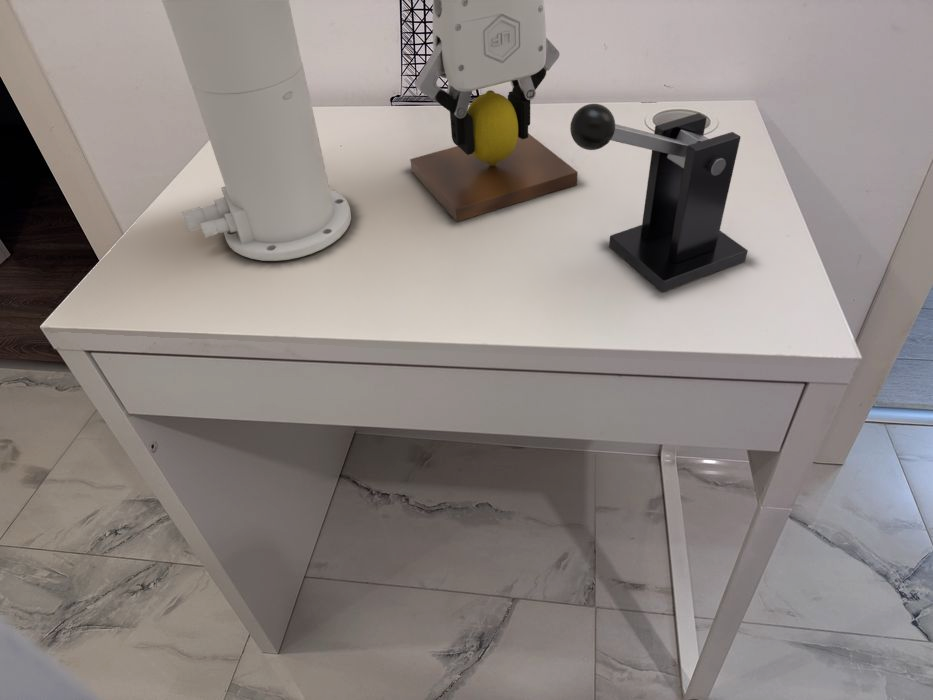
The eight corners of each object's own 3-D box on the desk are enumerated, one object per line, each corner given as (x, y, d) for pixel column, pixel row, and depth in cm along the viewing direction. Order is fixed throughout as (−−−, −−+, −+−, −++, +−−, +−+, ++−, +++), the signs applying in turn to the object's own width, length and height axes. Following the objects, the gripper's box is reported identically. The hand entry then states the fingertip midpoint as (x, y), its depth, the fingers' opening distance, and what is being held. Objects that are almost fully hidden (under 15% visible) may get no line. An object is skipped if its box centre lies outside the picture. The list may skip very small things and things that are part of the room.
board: (456, 222, 69) (455, 209, 68) (411, 171, 77) (409, 158, 76) (577, 184, 73) (577, 171, 71) (522, 140, 81) (521, 128, 80)
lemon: (519, 176, 71) (519, 101, 66) (466, 178, 72) (461, 104, 66) (517, 151, 76) (517, 78, 70) (467, 153, 76) (462, 81, 70)
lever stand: (662, 292, 59) (683, 166, 51) (608, 246, 64) (620, 125, 56) (745, 261, 61) (778, 136, 53) (687, 219, 67) (709, 99, 59)
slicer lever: (578, 153, 49) (597, 109, 47) (555, 135, 51) (573, 93, 49) (708, 181, 56) (728, 143, 55) (682, 164, 58) (701, 128, 57)
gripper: (408, -27, 55) (430, 178, 67) (593, -63, 59) (581, 135, 72) (376, -47, 60) (402, 147, 72) (548, -79, 64) (545, 109, 77)
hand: (491, 139), depth 72 cm, fingers closed on lemon, 5 cm apart
